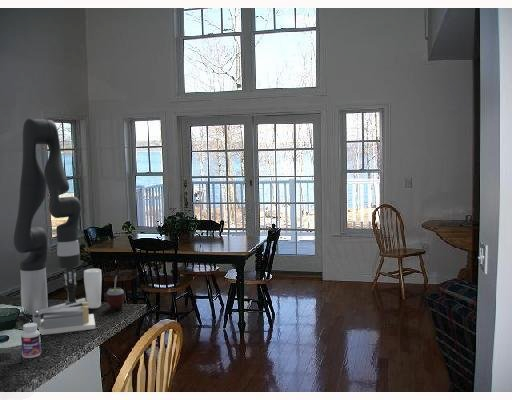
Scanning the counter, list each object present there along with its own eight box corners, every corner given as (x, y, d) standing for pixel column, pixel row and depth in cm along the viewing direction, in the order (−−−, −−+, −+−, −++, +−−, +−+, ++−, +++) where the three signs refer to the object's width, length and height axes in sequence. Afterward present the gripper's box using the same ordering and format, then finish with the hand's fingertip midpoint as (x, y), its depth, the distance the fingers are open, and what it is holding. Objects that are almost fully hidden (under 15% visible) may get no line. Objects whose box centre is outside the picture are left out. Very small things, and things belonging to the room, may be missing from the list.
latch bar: (34, 317, 190) (33, 312, 190) (34, 313, 194) (33, 309, 194) (86, 303, 196) (85, 298, 196) (85, 300, 200) (84, 295, 199)
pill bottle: (22, 359, 166) (20, 328, 165) (22, 353, 171) (20, 323, 170) (41, 356, 168) (39, 326, 167) (40, 350, 173) (39, 321, 172)
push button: (73, 308, 217) (72, 284, 216) (60, 308, 217) (59, 283, 216) (80, 303, 224) (79, 279, 223) (67, 303, 224) (66, 279, 223)
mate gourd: (114, 305, 221) (113, 269, 219) (130, 307, 217) (129, 271, 216) (102, 310, 214) (100, 273, 212) (118, 313, 211) (117, 275, 209)
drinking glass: (87, 310, 214) (85, 273, 213) (83, 305, 220) (82, 269, 219) (104, 307, 218) (103, 271, 216) (100, 303, 224) (99, 267, 222)
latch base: (28, 336, 186) (27, 315, 185) (30, 324, 198) (29, 305, 198) (95, 328, 193) (94, 308, 193) (93, 317, 206) (92, 299, 205)
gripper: (80, 255, 189) (83, 304, 191) (79, 249, 201) (82, 295, 203) (57, 257, 186) (60, 307, 188) (57, 251, 199) (61, 297, 201)
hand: (72, 300), depth 196 cm, fingers closed
